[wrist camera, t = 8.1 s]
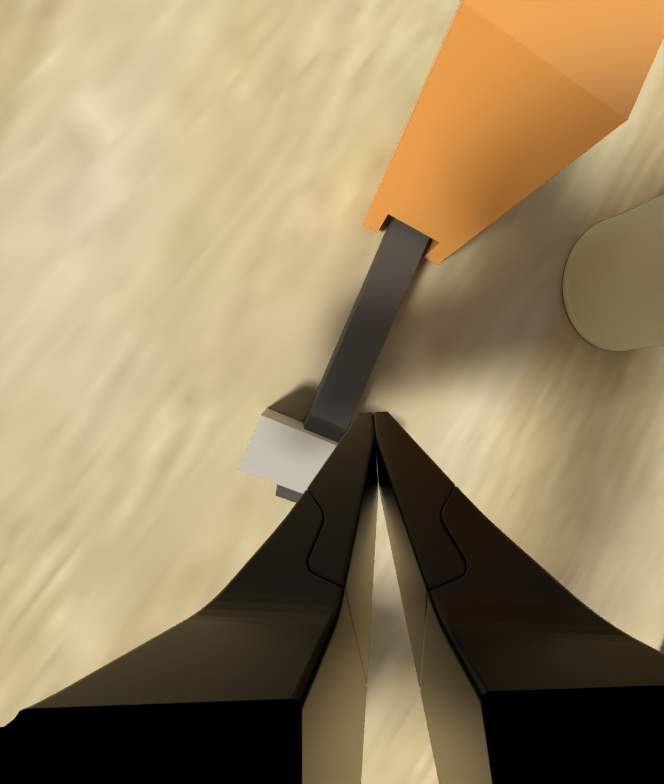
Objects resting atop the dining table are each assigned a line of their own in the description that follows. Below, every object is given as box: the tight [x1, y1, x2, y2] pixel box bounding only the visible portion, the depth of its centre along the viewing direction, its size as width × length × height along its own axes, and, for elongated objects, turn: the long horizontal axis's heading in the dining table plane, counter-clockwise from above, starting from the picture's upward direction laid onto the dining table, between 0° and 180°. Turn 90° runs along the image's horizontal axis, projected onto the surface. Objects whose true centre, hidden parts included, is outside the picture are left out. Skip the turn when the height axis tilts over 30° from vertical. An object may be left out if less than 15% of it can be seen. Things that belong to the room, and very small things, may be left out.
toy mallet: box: [238, 216, 430, 503], centre depth 15 cm, size 26×7×5 cm, turn 156°
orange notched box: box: [363, 0, 664, 265], centre depth 12 cm, size 6×5×10 cm
